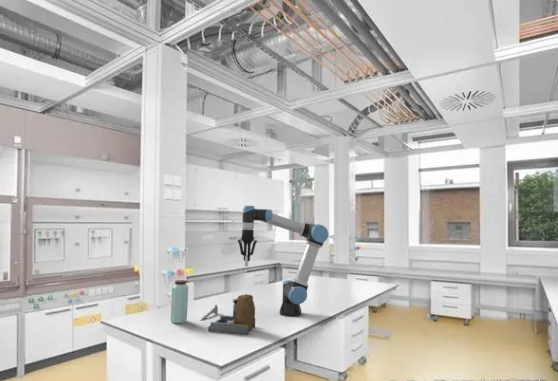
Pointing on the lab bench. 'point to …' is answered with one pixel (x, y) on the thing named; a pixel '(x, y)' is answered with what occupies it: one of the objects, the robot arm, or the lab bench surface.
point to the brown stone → (245, 311)
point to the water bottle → (179, 302)
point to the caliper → (214, 310)
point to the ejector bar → (233, 312)
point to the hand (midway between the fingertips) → (246, 266)
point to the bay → (228, 326)
